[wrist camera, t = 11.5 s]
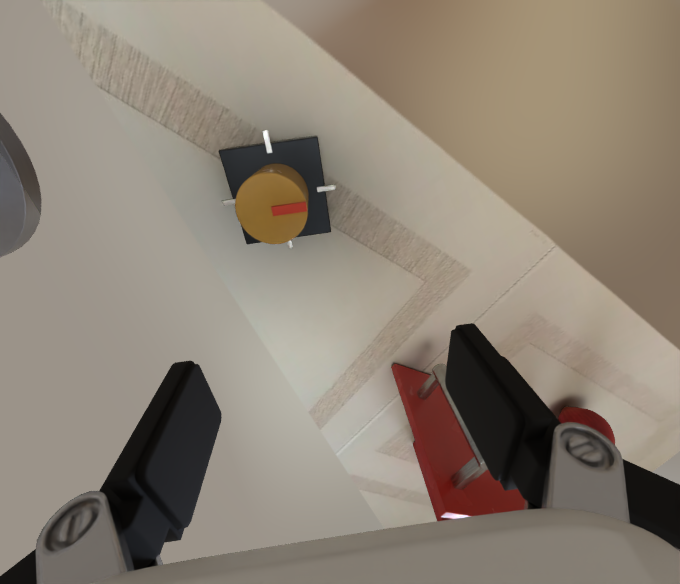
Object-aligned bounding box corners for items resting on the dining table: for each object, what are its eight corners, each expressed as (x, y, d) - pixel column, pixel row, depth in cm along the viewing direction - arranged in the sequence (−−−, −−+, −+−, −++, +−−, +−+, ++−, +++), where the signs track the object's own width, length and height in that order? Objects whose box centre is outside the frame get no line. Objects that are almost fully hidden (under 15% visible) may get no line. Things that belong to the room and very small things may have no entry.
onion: (541, 424, 44) (584, 479, 37) (547, 400, 41) (594, 455, 34) (580, 415, 44) (630, 470, 37) (587, 390, 41) (643, 444, 34)
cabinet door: (415, 335, 33) (487, 479, 19) (496, 365, 36) (603, 504, 23) (391, 367, 35) (440, 517, 22) (469, 393, 39) (552, 534, 25)
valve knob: (258, 227, 23) (245, 250, 19) (242, 167, 21) (223, 178, 16) (312, 219, 23) (313, 240, 19) (302, 159, 21) (300, 167, 16)
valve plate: (245, 244, 26) (239, 255, 24) (213, 137, 22) (201, 139, 20) (339, 230, 26) (342, 240, 24) (325, 122, 22) (327, 121, 20)
